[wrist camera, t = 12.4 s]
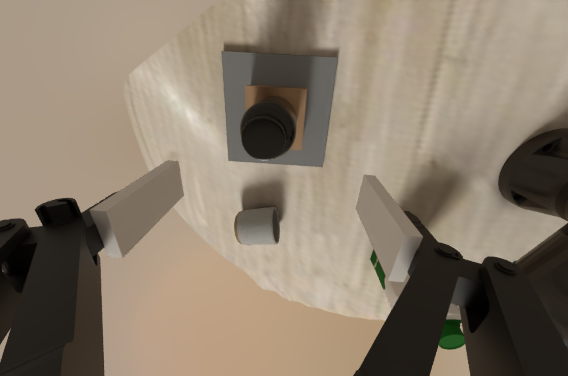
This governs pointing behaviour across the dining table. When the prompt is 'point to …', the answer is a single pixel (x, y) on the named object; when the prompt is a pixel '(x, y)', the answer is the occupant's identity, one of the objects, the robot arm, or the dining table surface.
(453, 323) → the milk carton
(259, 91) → the walnut block
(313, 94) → the mat
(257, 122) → the supplement bottle
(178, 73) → the dining table surface
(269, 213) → the ceramic mug
